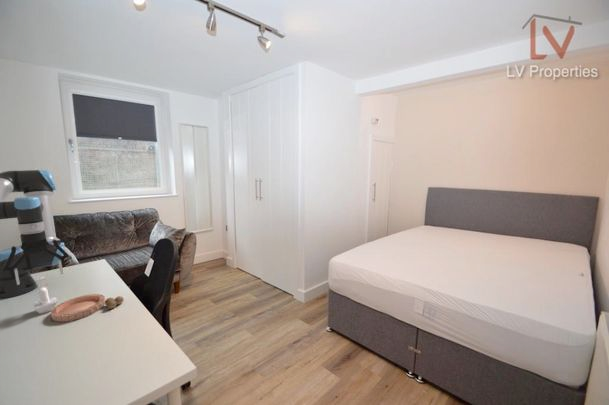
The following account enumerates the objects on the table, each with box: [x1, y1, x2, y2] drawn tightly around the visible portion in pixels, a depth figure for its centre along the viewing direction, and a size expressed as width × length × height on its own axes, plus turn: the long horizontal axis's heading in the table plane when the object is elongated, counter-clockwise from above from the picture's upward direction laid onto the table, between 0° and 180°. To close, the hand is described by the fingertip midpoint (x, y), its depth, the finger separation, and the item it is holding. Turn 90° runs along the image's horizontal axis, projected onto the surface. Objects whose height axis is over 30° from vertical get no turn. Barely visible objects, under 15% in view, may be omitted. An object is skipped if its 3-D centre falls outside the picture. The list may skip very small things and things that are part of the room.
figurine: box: [33, 276, 58, 315], centre depth 116 cm, size 7×9×15 cm
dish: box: [50, 293, 106, 323], centre depth 116 cm, size 19×18×3 cm
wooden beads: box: [104, 296, 124, 310], centre depth 119 cm, size 7×7×4 cm
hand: (41, 278), depth 114 cm, fingers open, 13 cm apart
